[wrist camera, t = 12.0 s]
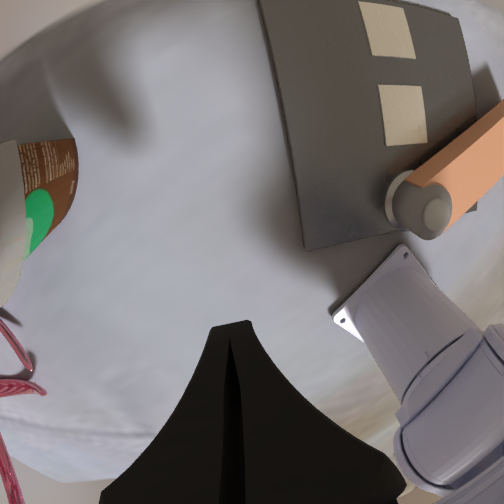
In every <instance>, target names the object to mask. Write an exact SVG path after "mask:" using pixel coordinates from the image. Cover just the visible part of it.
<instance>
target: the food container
mask: <svg viewBox="0 0 504 504" xmlns="http://www.w3.org/2000/svg"><path fill="white" fill-rule="evenodd" d="M78 166H79V162H78V153H77V147H76V143H75V139H74V138H70V139H59V140H50V141H41V142H34V143H26V144H19V145H17V142H16V139H14V140H11V141H7V142H4V143H1V144H0V308H1V307H2V306H3V305H4V304H5V303H6V302H7V301H8V300H9V299H10V297H11V295H12V294H13V292H14V290H15V289H16V286H17V283H18V280H19V277H20V275H21V270H22V264H23V262H24V261H25V259H26V258H27V257H28V256H29V255H30V254H31V253H32V252H33V251H34V249H35V248H36V247H37V246H38V245H39V244H40V243H41V242H42V241H43V240H44V239H45V238H46V237H47V236H48V235H49V234H50V233H51V231H52V230H53V229H54V228H55V227H56V226H57V225H58V224H59V223H60V222H61V221H62V220H63V219H64V217H65V216H66V214H67V213H68V211H69V209H70V207H71V205H72V202H73V199H74V197H75V193H76V188H77V182H78Z"/></svg>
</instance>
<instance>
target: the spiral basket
mask: <svg viewBox="0 0 504 504" xmlns="http://www.w3.org/2000/svg"><path fill="white" fill-rule="evenodd" d="M0 332H1V333H2V334H3V336H4V337H5V338H6V339H7V341H8V342H9V344H10V345H11V346H12V348H13V349H14V351H15V352H16V354H17V356H18V357H19V359H20V360H21V362H22V363H23V365H24V366H25V367H26V368H27V369H28V370H29V371H33V366H32V363H31V361H30V359H29V357H28V355H27V354H26V352H25V350H24V349H23V347H22V346H21V344H20V343H19V341H18V340H17V338H16V337H15V336H14V334H13V333H12V332H11V330H10V329H9V328H8V327H7V326H6V324H5V323H4V322H3V321H2V320H1V319H0ZM21 394H38V395H41V396H45V395H46V394H47V392H46V390H45V389H44V388H43V387H41V386H40V385H38V384H36V383H33V382H30V381H26V380H21V379H0V397H6V396H13V395H21ZM0 474H1V477H2V481H3V483H4V487H5V490H6V493H7V498H8V502H9V504H25V503H24V499H23V496H22V492H21V489H20V486H19V483H18V480H17V477H16V474H15V471H14V468H13V465H12V463H11V460H10V457H9V454H8V452H7V449H6V446H5V444H4V441H3V438H2V436H1V433H0Z"/></svg>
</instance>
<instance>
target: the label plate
mask: <svg viewBox="0 0 504 504" xmlns="http://www.w3.org/2000/svg"><path fill="white" fill-rule="evenodd" d="M258 2H259V6H260V10H261V14H262V18H263V22H264V26H265V30H266V34H267V39H268V43H269V47H270V52H271V56H272V61H273V65H274V70H275V75H276V80H277V85H278V89H279V94H280V99H281V105H282V110H283V115H284V120H285V126H286V131H287V137H288V143H289V149H290V155H291V161H292V167H293V173H294V179H295V186H296V192H297V199H298V206H299V213H300V220H301V228H302V235H303V243H304V248H305V250H306V251H311V250H315V249H319V248H324V247H328V246H332V245H336V244H341V243H345V242H349V241H353V240H358V239H362V238H366V237H370V236H374V235H379V234H383V233H387V232H391V231H395V230H401V231H410V230H408V229H407V228H405V227H403V226H402V225H400V224H399V223H398V222H397V221H396V219H395V218H394V215H393V212H392V200H393V196H394V193H395V191H396V189H397V187H398V186H399V185H400V183H401V182H403V181H404V178H406V177H407V176H408V175H410V174H411V173H412V172H414V171H415V170H416V169H418V168H419V167H420V166H421V165H423V164H424V163H425V162H427V161H428V160H429V159H430V158H432V157H433V156H434V155H436V154H437V153H438V152H439V151H441V150H442V149H443V148H444V147H446V146H447V145H448V144H450V143H451V142H452V141H453V140H455V139H456V138H457V137H458V136H460V135H461V134H462V133H463V132H465V131H466V130H467V129H468V128H469V127H471V126H472V125H473V124H474V123H476V122H477V115H476V105H475V96H474V89H473V82H472V76H471V70H470V65H469V60H468V55H467V51H466V46H465V42H464V38H463V34H462V30H461V27H460V23H459V20H458V18H455V17H452V16H449V15H446V14H443V13H439V12H436V11H432V10H429V9H425V8H421V7H417V6H413V5H408V4H404V3H399V2H393V1H388V0H258ZM476 210H477V202H476V203H475V204H474V205H473V206H472V207H471V208H469V209H468V210H467V211H466V212H465V213H468V212H472V211H476Z"/></svg>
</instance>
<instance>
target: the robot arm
mask: <svg viewBox="0 0 504 504" xmlns="http://www.w3.org/2000/svg"><path fill="white" fill-rule="evenodd" d="M405 253H406V254H405ZM404 254H405V256H404ZM342 318H344V319H343V320H341V319H342ZM332 319H333V321H334V322H335V323H336V324H338V325H339V326H341V327H342V328H344V329H345V330H346V331H348V332H349V333H351V334H352V335H354V336H355V337H356V338H358V339H359V340H361V341H362V342H364V343H365V344H366V346H367V347H368V349H369V351H370V352H371V354H372V356H373V357H374V359H375V361H376V362H377V364H378V366H379V367H380V369H381V371H382V372H383V374H384V376H385V377H386V379H387V381H388V383H389V384H390V386H391V388H392V390H393V391H394V393H395V395H396V396H397V398H398V400H399V402H400V404H401V405H402V406H401V407H400V409H399V410H398V411H397V412H396V413H395V415H396V417H397V419H398V421H399V423H400V425H401V426H400V427H399V428H398V429H397V431H396V433H395V436H394V452H395V457H396V461H397V464H398V466H399V468H400V470H401V472H402V473H403V475H404V476H405V477H406V478H407V479H408V480H409V481H410V482H411V483H412V484H414V485H415V486H417V487H419V488H420V489H422V490H425V491H428V492H432V493H435V494H437V495H439V496H440V497H442V499H440V500H438V501H437V502H435V503H433V504H504V325H503V324H496V325H489V326H488V327H487V329H486V330H485V331H482V330H481V329H480V328H479V327H478V326H477V325H476V324H475V323H474V322H473V321H472V320H471V319H470V318H469V317H468V316H467V315H466V314H465V313H464V312H463V311H462V310H461V309H460V308H459V307H457V306H456V305H455V304H454V303H453V302H452V301H451V300H450V299H449V298H448V297H447V296H446V295H445V294H444V293H443V292H442V291H440V290H439V289H438V288H437V286H436V285H435V284H434V282H433V281H432V279H431V278H430V277H429V275H428V274H427V272H426V271H425V270H424V268H423V267H422V266H421V264H420V263H419V262H418V260H417V259H416V258H415V256H414V255H413V254H412V252H411V251H410V250H409V249H408V247H407V246H405V245H404V244H400V245H398V246H397V247H396V249H395V250H394V251H393V252H392V253H391V254H390V255H389V256H388V257H387V259H386V260H385V261H384V262H383V263H382V264H381V265H380V266H379V267H378V268H377V269H376V270H375V271H374V273H373V274H372V275H371V276H370V277H369V278H368V279H367V280H366V281H365V282H364V283H363V284H362V285H361V286H360V287H359V288H358V289H357V290H356V291H355V292H354V293H353V294H352V295H351V296H350V297H349V298H348V299H347V300H346V301H345V302H344V303H343V304H342V305H341V306H340V307H339V308H338V309H337V310H336V311H335V312H334V313H333V314H332ZM406 486H407V484H406V482H405V479H404V478H403V476H402V474H401V473H400V471H399V470H398V468H397V467H396V466H395V465H394V463H393V462H392V461H391V460H390V459H389V458H388V457H387V456H386V454H384V453H383V452H381V451H379V450H377V449H375V448H373V447H372V446H370V445H368V444H366V443H365V442H363V441H361V440H360V439H358V438H356V437H355V436H353V435H352V434H350V433H349V432H347V431H346V430H344V429H343V428H341V427H340V426H338V425H337V424H336V423H334V422H333V421H332V420H331V419H329V418H328V417H327V416H325V415H324V414H323V413H322V412H320V411H319V410H318V409H317V408H315V407H314V406H313V405H312V404H311V403H310V402H309V401H308V400H307V399H306V398H304V397H303V396H302V395H301V394H300V393H299V392H298V391H297V390H296V389H295V388H294V386H293V385H292V384H291V383H290V382H289V381H288V380H287V379H286V378H285V376H284V375H283V374H282V373H281V372H280V370H279V369H278V368H277V367H276V365H275V364H274V363H273V361H272V360H271V358H270V357H269V356H268V354H267V353H266V351H265V350H264V348H263V347H262V345H261V343H260V341H259V340H258V338H257V336H256V334H255V332H254V329H253V327H252V323H251V321H249V320H244V321H240V322H235V323H230V324H225V325H220V326H216V327H212V328H211V330H210V332H209V335H208V338H207V341H206V344H205V347H204V350H203V352H202V355H201V358H200V360H199V362H198V365H197V367H196V369H195V372H194V374H193V376H192V378H191V380H190V382H189V384H188V386H187V388H186V390H185V392H184V394H183V396H182V398H181V399H180V401H179V403H178V405H177V406H176V408H175V410H174V411H173V413H172V414H171V416H170V417H169V419H168V421H167V422H166V423H165V425H164V426H163V428H162V429H161V430H160V432H159V433H158V435H157V436H156V437H155V438H154V440H153V441H152V442H151V443H150V445H149V446H148V447H147V448H146V449H145V450H144V452H143V453H142V454H141V455H140V456H139V457H138V458H137V459H136V460H135V461H134V463H133V464H132V465H131V466H130V467H129V468H128V469H127V470H126V471H125V472H124V473H122V474H121V475H120V476H119V477H118V478H117V479H116V480H115V481H113V482H112V483H111V484H110V485H109V486H108V487H106V488H105V489H104V490H103V491H102V492H101V496H100V500H99V504H398V502H397V500H396V498H397V497H398V496H399V495H400V494H401V493H402V492H403V491H404V490H405V488H406Z"/></svg>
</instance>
